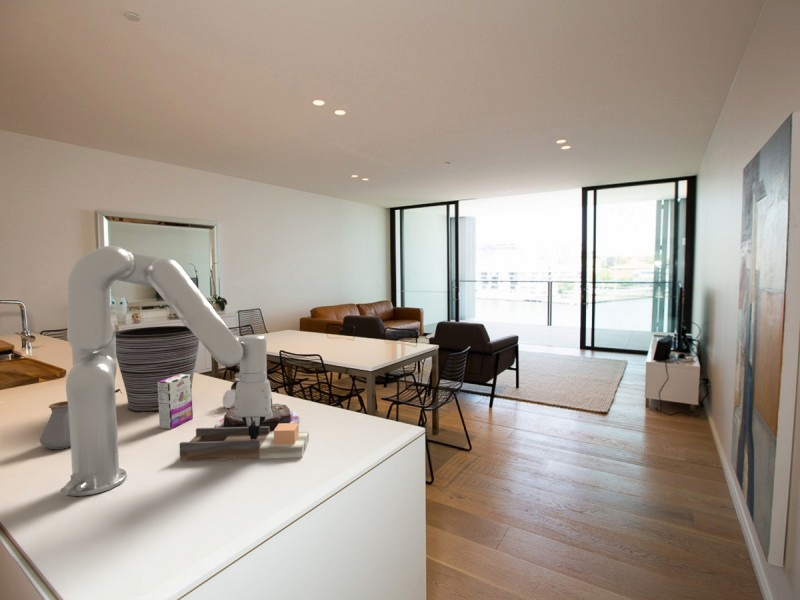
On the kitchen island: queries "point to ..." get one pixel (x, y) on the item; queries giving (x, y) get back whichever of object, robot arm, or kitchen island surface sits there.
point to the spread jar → (230, 395)
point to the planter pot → (153, 361)
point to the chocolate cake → (279, 416)
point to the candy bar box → (175, 401)
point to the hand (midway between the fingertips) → (254, 437)
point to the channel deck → (239, 445)
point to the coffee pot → (58, 427)
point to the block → (286, 433)
